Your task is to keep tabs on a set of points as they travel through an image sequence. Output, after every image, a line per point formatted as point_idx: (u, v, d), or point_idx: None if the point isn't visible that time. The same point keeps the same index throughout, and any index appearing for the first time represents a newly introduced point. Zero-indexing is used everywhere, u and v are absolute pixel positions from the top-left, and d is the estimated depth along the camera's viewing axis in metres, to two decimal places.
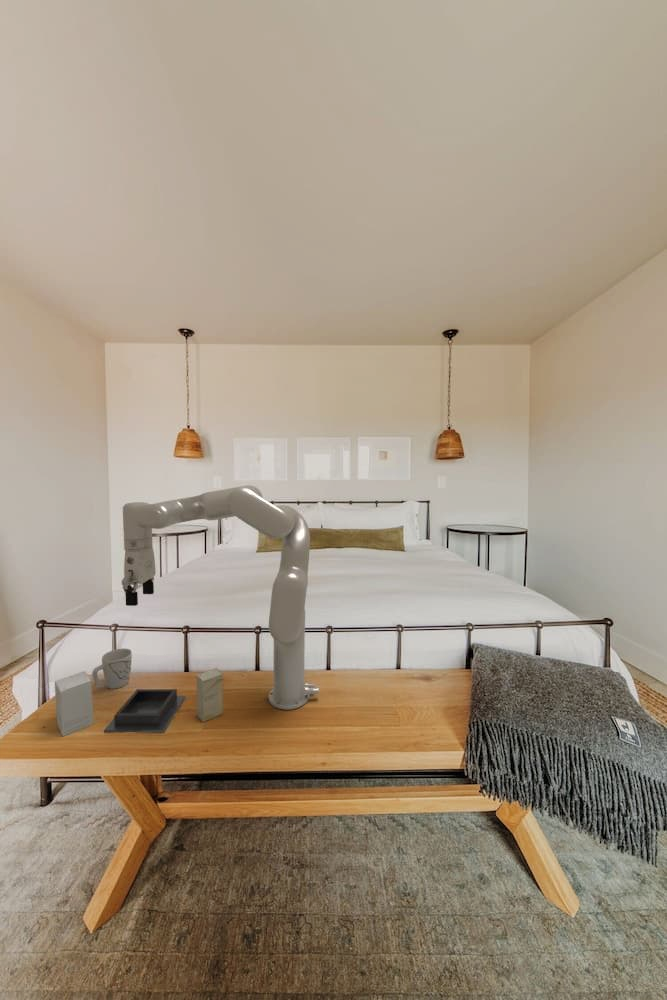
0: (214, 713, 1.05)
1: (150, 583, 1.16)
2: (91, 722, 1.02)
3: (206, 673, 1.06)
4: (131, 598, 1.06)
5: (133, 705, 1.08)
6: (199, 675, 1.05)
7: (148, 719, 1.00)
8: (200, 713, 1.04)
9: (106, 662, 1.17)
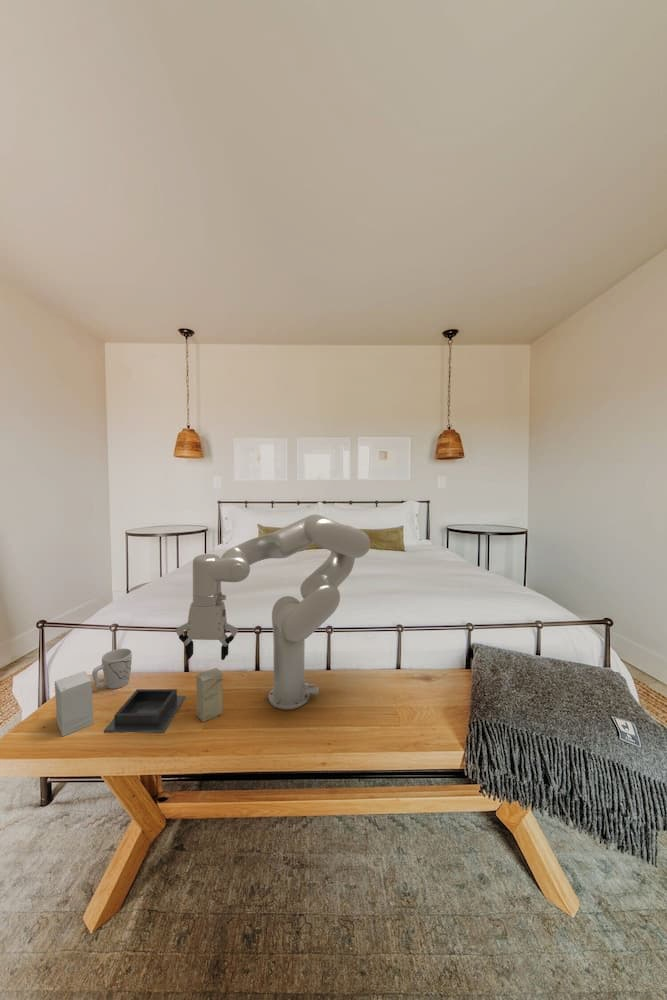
0: (214, 713, 1.05)
1: (192, 643, 1.06)
2: (91, 722, 1.02)
3: (206, 673, 1.06)
4: None
5: (133, 705, 1.08)
6: (199, 675, 1.05)
7: (148, 719, 1.00)
8: (200, 713, 1.04)
9: (106, 662, 1.17)
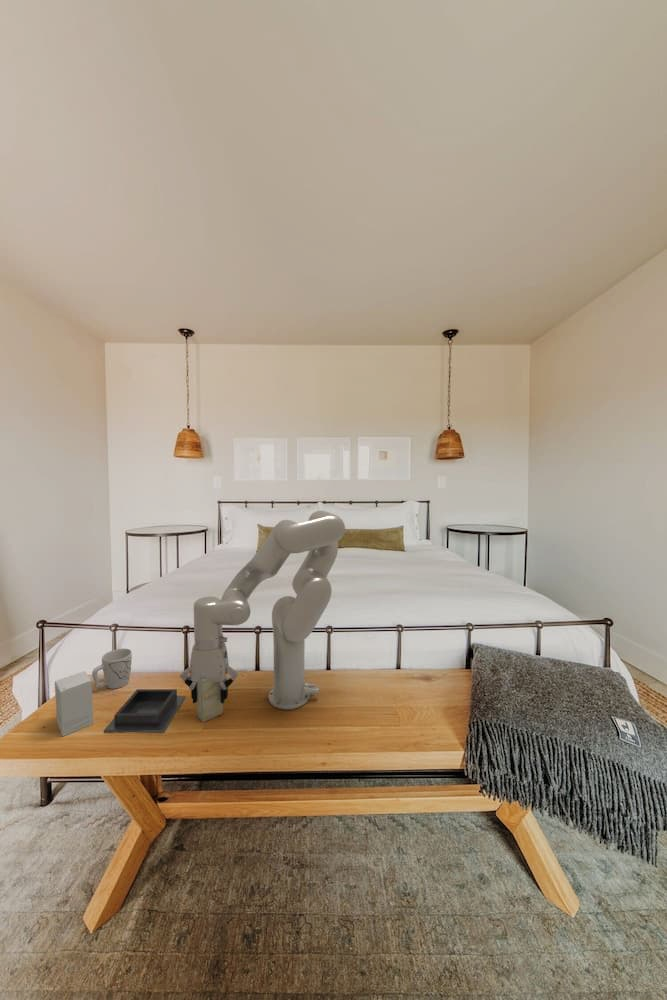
0: (214, 713, 1.05)
1: None
2: (91, 722, 1.02)
3: None
4: (227, 691, 1.07)
5: (133, 705, 1.08)
6: None
7: (148, 719, 1.00)
8: (200, 713, 1.04)
9: (106, 662, 1.17)
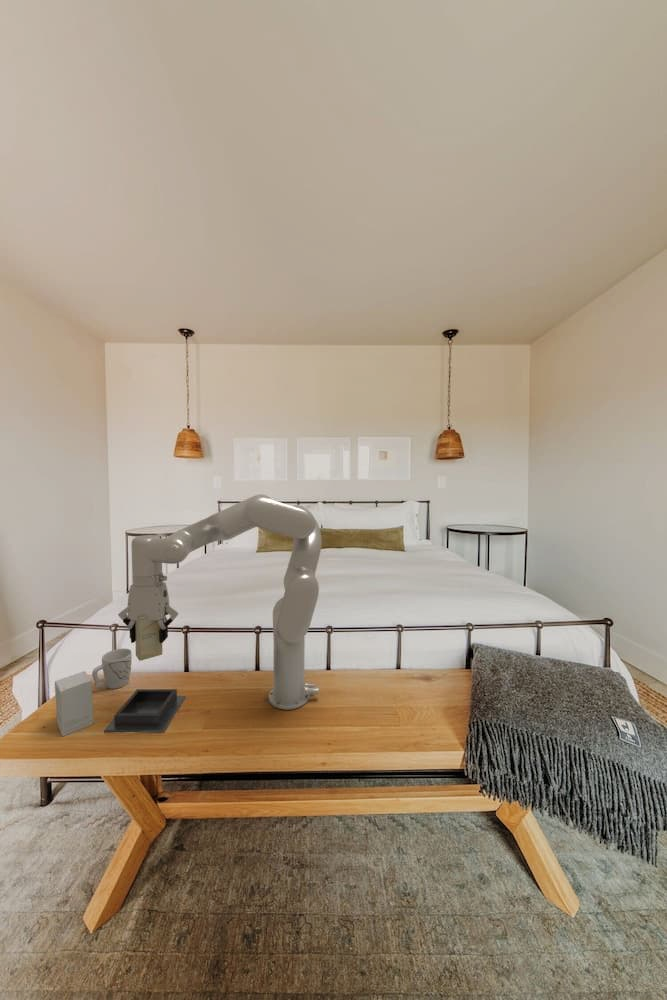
0: (153, 653, 1.03)
1: None
2: (91, 722, 1.02)
3: None
4: (167, 632, 1.05)
5: (133, 705, 1.08)
6: None
7: (148, 719, 1.00)
8: (137, 652, 1.02)
9: (106, 662, 1.17)
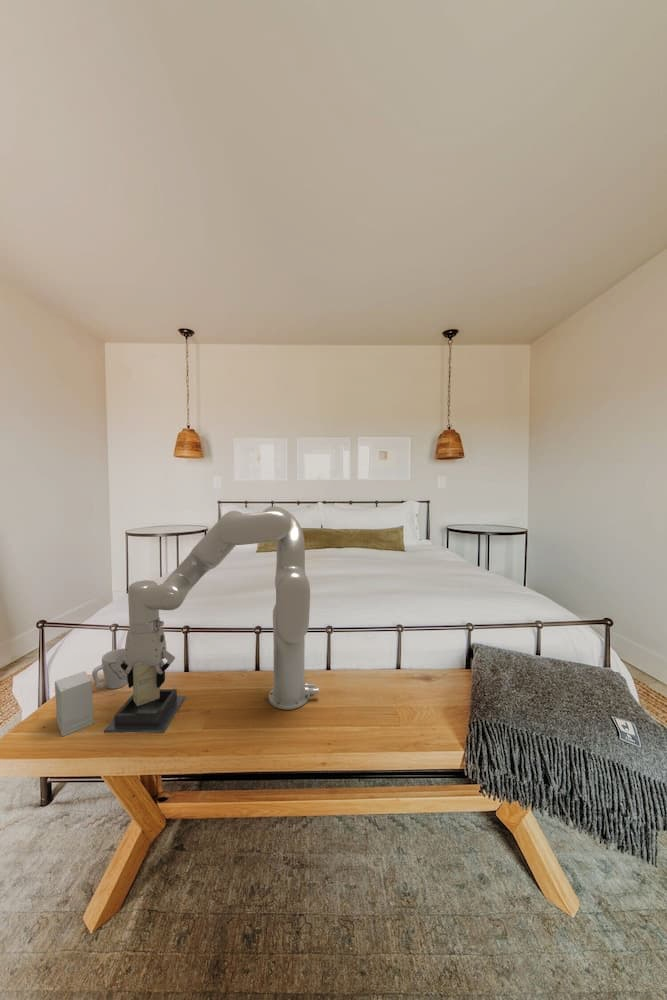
0: (150, 697, 1.05)
1: None
2: (91, 722, 1.02)
3: None
4: (164, 676, 1.06)
5: (133, 705, 1.08)
6: None
7: (148, 719, 1.00)
8: (135, 697, 1.03)
9: (106, 662, 1.17)
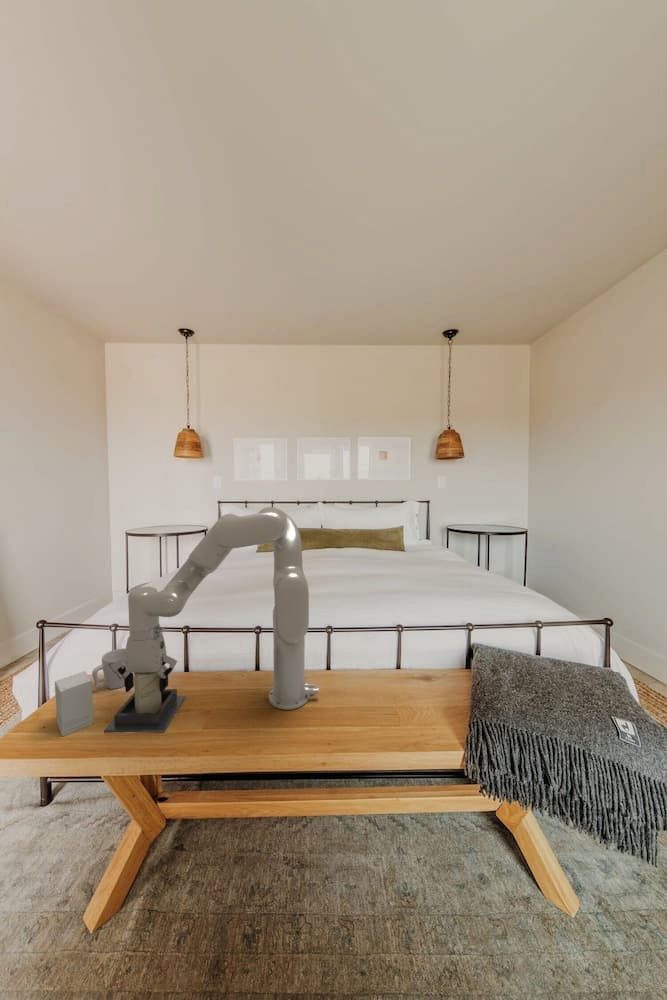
0: (152, 710, 1.05)
1: (132, 675, 1.07)
2: (91, 722, 1.02)
3: None
4: (167, 680, 1.06)
5: (133, 705, 1.08)
6: None
7: (148, 719, 1.00)
8: (137, 710, 1.04)
9: (106, 662, 1.17)
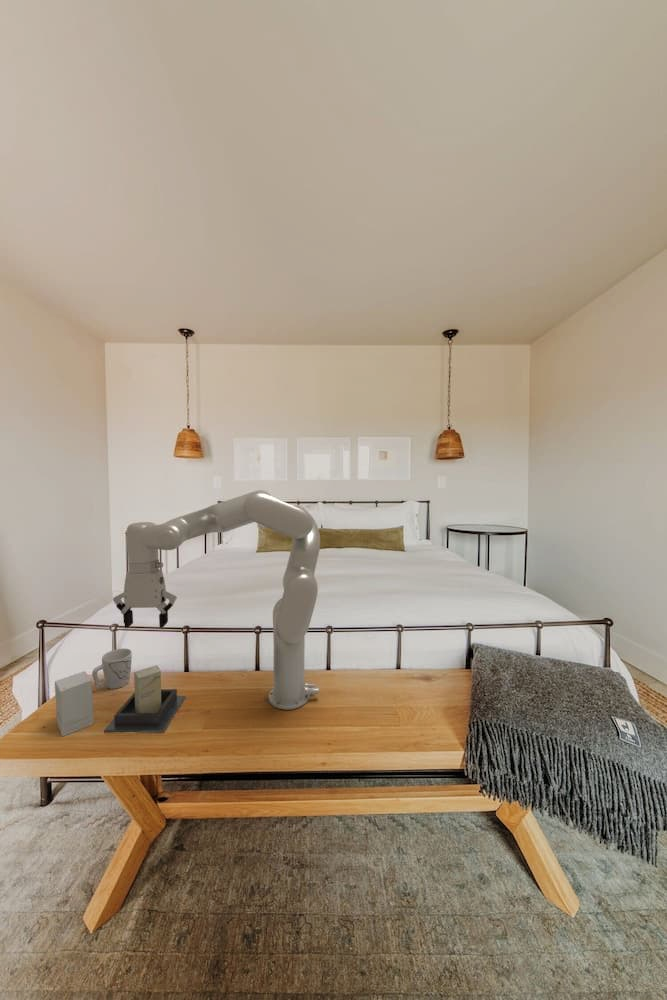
0: (152, 710, 1.05)
1: (131, 612, 1.05)
2: (91, 722, 1.02)
3: (144, 670, 1.06)
4: (167, 616, 1.05)
5: (133, 705, 1.08)
6: (137, 672, 1.05)
7: (148, 719, 1.00)
8: (137, 710, 1.04)
9: (106, 662, 1.17)
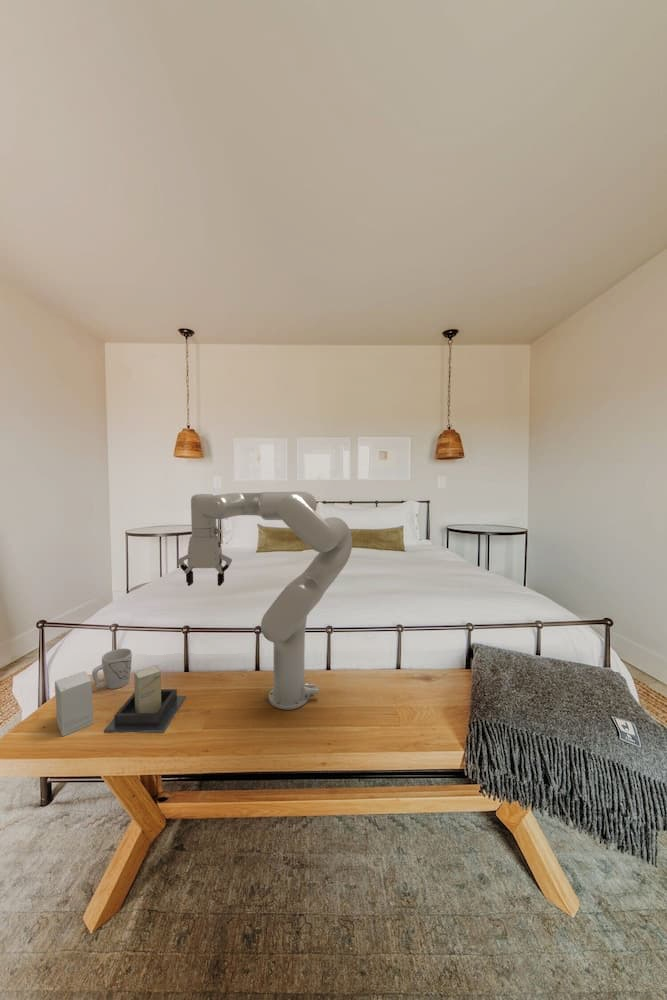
0: (152, 710, 1.05)
1: (192, 573, 1.20)
2: (91, 722, 1.02)
3: (144, 670, 1.06)
4: (223, 577, 1.20)
5: (133, 705, 1.08)
6: (137, 672, 1.05)
7: (148, 719, 1.00)
8: (137, 710, 1.04)
9: (106, 662, 1.17)
